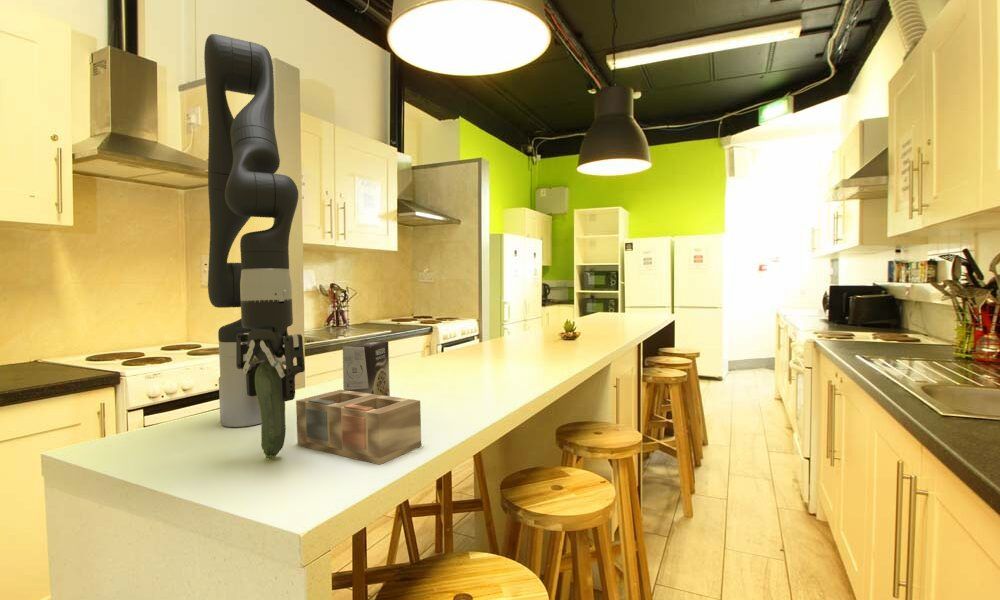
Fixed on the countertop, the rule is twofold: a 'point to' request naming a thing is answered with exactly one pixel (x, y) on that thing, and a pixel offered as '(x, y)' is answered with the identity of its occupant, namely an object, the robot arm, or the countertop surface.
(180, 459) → the countertop surface
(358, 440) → the holder
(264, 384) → the vegetable
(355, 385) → the coffee box
